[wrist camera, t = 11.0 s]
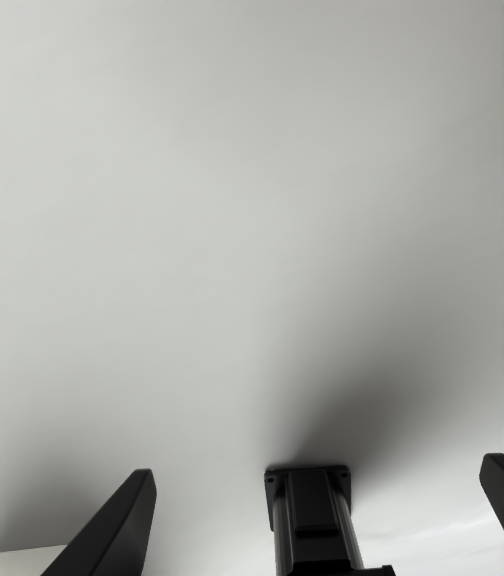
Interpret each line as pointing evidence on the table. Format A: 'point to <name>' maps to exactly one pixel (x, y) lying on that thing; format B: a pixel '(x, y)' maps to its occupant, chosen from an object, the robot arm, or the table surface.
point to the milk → (28, 561)
